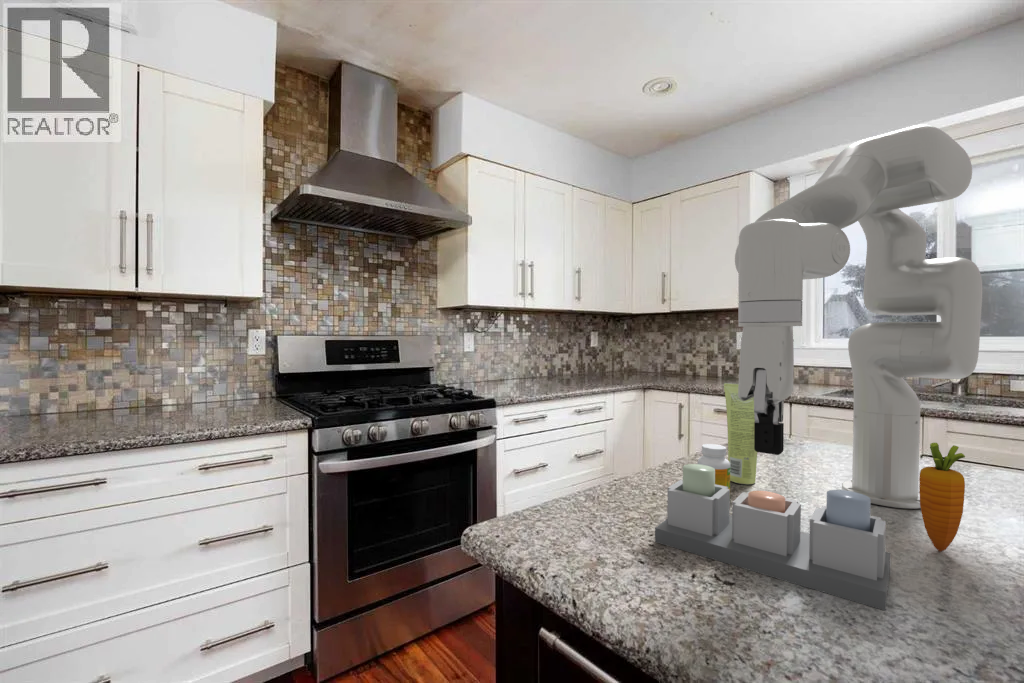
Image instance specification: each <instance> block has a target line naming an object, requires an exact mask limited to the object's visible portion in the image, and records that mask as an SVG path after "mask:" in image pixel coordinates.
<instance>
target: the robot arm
mask: <svg viewBox="0 0 1024 683" xmlns="http://www.w3.org/2000/svg"><path fill="white" fill-rule="evenodd" d="M972 176H973V165H972V162H971V158H970V156H969V153H967V151H966V150H965V149H964V147H962V146H961V145H960V144H959V143H958V142H957V141H956V140H955V139H953V138H952V137H951V136H950V135H949V134H947V133H946V132H945V131H944V130H942V129H941V128H939V127H935V126H933V125H928V124H918V125H912V126H910V127H909V126H908V127H906V128H902V129H898V130H895V131H890V132H888V133H884V134H880V135H877V136H873V137H869V138H866V139H862V140H859V141H857V142H854V143H852V144H850V145H848V146H847V147H845V148H844V149H842V151H841V152H839V153H838V155H837V156H836V157H835V158H834V159H833V161H832V162H831V163H830V164H829V166H827V168H826V169H825V171H824V172H823V173H822V174H821V176H820V177H819V178H818V179H817V180H816V181H815V183H813V185H811V186H810V187H807V188H805V189H804V190H801V191H800V192H798V193H797V194H795V195H793V196H791V197H790V198H788V199H787V200H785V201H782V202H781V203H779V204H777V205H776V206H774V207H773V208H771V209H769V210H768V211H767V212H765V213H764V214H762V215H760V216H759V217H758V218H757V219H756V220H755V222H751V223H749V224H746V225H745V226H743V227H742V229H741V230H740V232H739V236H738V244H737V246H736V249H735V254H734V265H735V268H736V271H737V273H738V307H737V308H738V311H737V312H738V318H737V319H738V320H737V321H738V324H737V325H738V327H739V328H740V327H742V333H741V341H740V349H739V367H738V368H739V370H738V383H737V384H738V397H739V398H740V399H741V400H742V401H746V400H749V399H751V398H753V397H754V417H755V422H754V450H755V451H756V452H757V453H761V454H762V453H763V454H769V455H776V456H780V455H782V453H783V452H784V444H785V443H784V442H785V441H784V437H785V436H784V435H785V434H784V433H785V432H784V431H785V430H784V427H785V425H784V424H785V423H784V422H783V421H784V407H785V406H784V403H785V400H786V399H788V398H789V397H790V396H792V393H793V390H794V374H795V372H794V369H795V367H794V363H795V362H794V351H795V350H794V342H795V341H794V327H803V298H804V296H803V293H804V292H803V290H804V289H803V288H804V287H803V283H804V281H805V280H816V279H817V280H818V279H822V278H827V277H831V276H834V275H836V274H838V273H839V272H840V271H841V270H842V269H843V268H844V267H845V265H847V262H848V261H849V258H850V254H851V244H850V241H849V238H848V236H847V235H846V233H845V232H844V230H843V229H845V228H847V227H849V226H851V225H853V224H855V223H857V222H858V224H859V225H860V227H861V229H862V231H863V233H864V236H865V239H866V254H865V255H866V257H865V268H864V279H863V280H864V282H863V293H862V294H863V303H864V304H863V305H864V308H866V310H868V311H869V312H870V313H872V314H875V315H880V316H881V315H882V316H925V315H926V316H927V315H928V316H930V315H932V316H933V315H935V316H939V317H940V321H881V322H880V321H879V322H872V323H865V324H863V325H860V326H859V327H857V328H855V329H854V330H853V331H852V332H851V334H850V336H849V338H848V343H847V345H848V347H847V348H848V356H849V360H850V365H851V371H852V373H851V374H852V384H853V414H852V415H853V419H852V420H853V423H852V424H853V426H852V463H851V464H852V469H851V470H852V471H851V472H852V475H851V480H850V479H849V480H845V481H844V482H842V483H841V490H846V491H852V492H856V493H860V494H863V495H866V496H868V497H869V498H870V499H871V504H873V505H877V506H878V505H879V506H883V507H888V508H894V509H895V508H897V509H906V510H907V509H909V510H910V509H912V510H913V509H915V510H916V509H921V507H920V490H919V477H920V448H921V447H920V441H921V437H920V435H921V403H920V399H919V397H918V395H917V393H916V392H915V390H913V388H912V387H911V385H909V384H908V382H907V381H906V380H905V379H904V378H923V379H924V378H925V379H936V380H937V379H939V380H941V379H942V380H960V379H965V378H967V377H969V376H971V375H972V374H973V373H974V372H975V370H976V367H977V364H978V360H979V352H980V337H981V324H982V323H981V322H982V308H983V306H982V305H983V278H982V274H981V272H980V269H979V267H978V265H977V264H976V263H975V262H973V260H971V259H968V258H965V257H941V258H931V259H927V258H926V255H927V254H926V253H927V252H926V251H927V240H928V238H927V237H928V236H927V232H926V231H925V230H924V228H923V227H922V226H921V225H920V224H919V223H918V221H916V220H915V219H913V218H912V217H910V216H909V215H908V214H906V213H905V212H903V210H901V209H903V208H910V207H916V206H917V207H918V206H921V205H922V206H923V205H929V204H935V203H941V202H944V201H949V200H953V199H956V198H958V197H960V196H961V195H963V194H964V193H965V192H966V191H967V189H968V188H969V186H970V184H971V180H972Z"/></svg>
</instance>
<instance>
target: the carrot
mask: <svg viewBox="0 0 1024 683" xmlns="http://www.w3.org/2000/svg"><path fill="white" fill-rule="evenodd" d="M929 446H930V447H929V449H930V452H931V453H930V454H931V456H932V460H933V462H934V465H935V466H924V467H922V468H921V470H919V491H920V507H921V508H920V512H921V516H922V520H923V525H924V529H925V530H926V533H927V536H928V538H929V540H930V541H931V544H932V545H933V547H934V549H936V551H938V552H940V553H941V552H945V551H946V550H947V549H948V547H949V546H950V545H951V544H952V543H953V541H954V539H955V538H956V535H957V534H958V531H959V528H960V524H961V522H962V517H963V513H964V503H965V489H966V481H965V476H964V475H963V474H962V473H961V472H959V471H957V470H954V469H951V467H952V466H953V465H954V463H955V462H957V461H958V460H959V459H964V458H966V456H965V454H964V453H963V452H959V453H957V451H958V450H959V446H957V445H952V446H951V447H950V449H949V451H948V453H947V456H943V455H942V452H941V451H940V450H941V449H940V447H939V443H938V442H932V443H930V444H929Z"/></svg>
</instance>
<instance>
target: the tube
mask: <svg viewBox="0 0 1024 683" xmlns="http://www.w3.org/2000/svg"><path fill="white" fill-rule="evenodd" d="M738 384H739V383H728V382H724V383H723V391H724V398H725V407H726V408H725V410H726V422H727V460H728V461H729V462H730V482H732V483H736V484H739V485H753V484H755V483H756V479H757V477H756V476H757V463H758V462H757V461H758V452H756V451H755V450H754V422H755V417H754V397H753V398H751V399H749V400H746V401H742V400H741V399H740V398H739V397H738Z"/></svg>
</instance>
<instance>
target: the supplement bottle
mask: <svg viewBox="0 0 1024 683" xmlns="http://www.w3.org/2000/svg"><path fill="white" fill-rule="evenodd" d="M701 454H702V455H701V456H699V457H698V459H697V463H696V464H700V465H706V466H710V467H712V468H714V469H715V484H716V485H721V486H726V487H728V489H730V490H731V481H730V462H729V461H728V458H726V456H727V447H726V446H724V445H720V444H715V443H704V444H702V445H701Z"/></svg>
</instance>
